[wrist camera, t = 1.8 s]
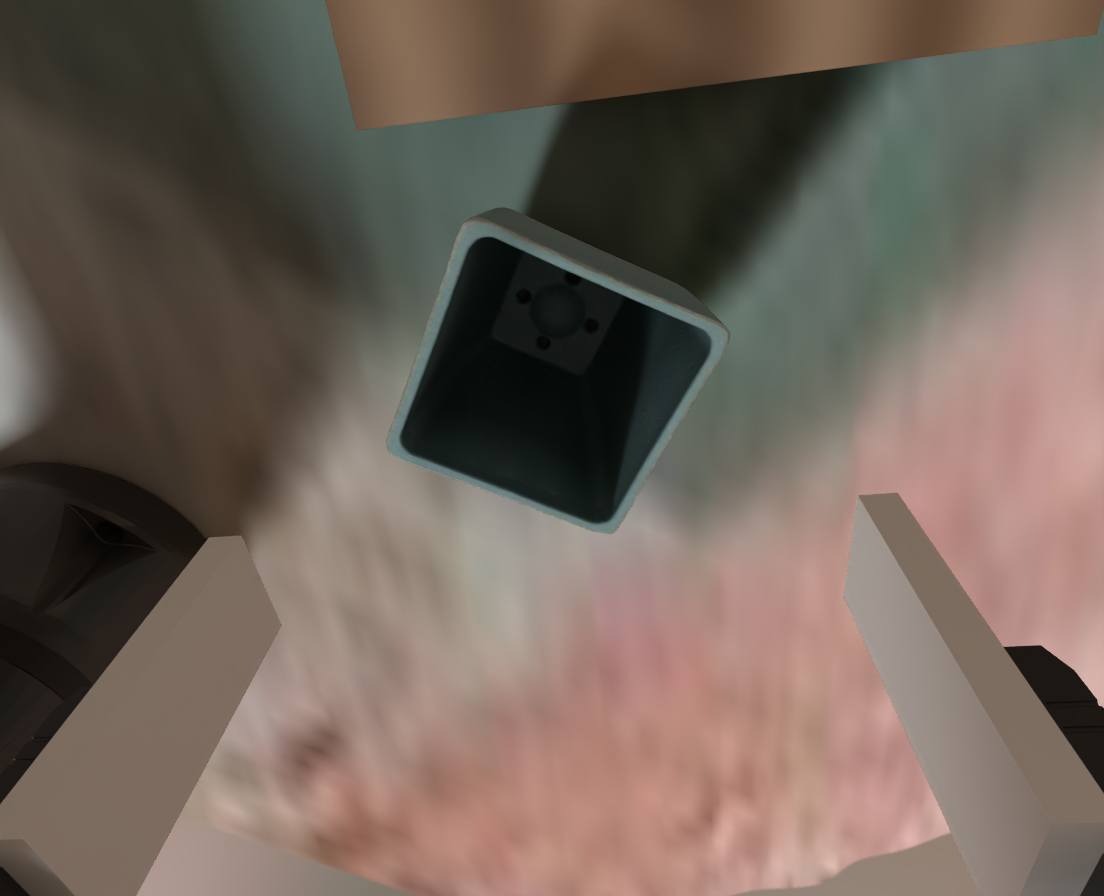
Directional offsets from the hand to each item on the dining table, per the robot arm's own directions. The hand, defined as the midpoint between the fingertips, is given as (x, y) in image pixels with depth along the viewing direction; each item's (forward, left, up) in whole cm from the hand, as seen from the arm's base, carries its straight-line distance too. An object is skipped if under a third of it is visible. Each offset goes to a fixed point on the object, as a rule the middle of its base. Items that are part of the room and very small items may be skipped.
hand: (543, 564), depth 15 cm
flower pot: (0, 0, -17) cm, 17 cm away
